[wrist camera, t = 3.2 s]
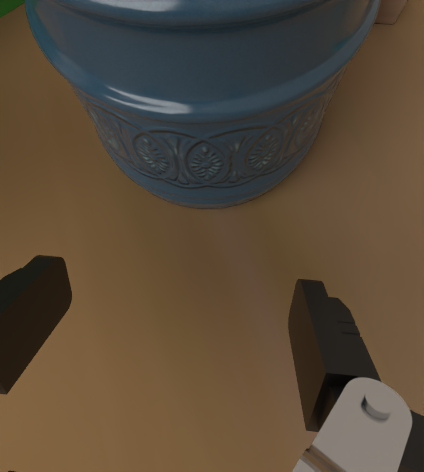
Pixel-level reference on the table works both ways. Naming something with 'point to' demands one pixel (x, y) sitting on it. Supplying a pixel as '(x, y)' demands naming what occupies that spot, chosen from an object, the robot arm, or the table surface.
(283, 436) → the table surface
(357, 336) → the robot arm
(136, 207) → the table surface
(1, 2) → the hardback book
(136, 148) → the canister
